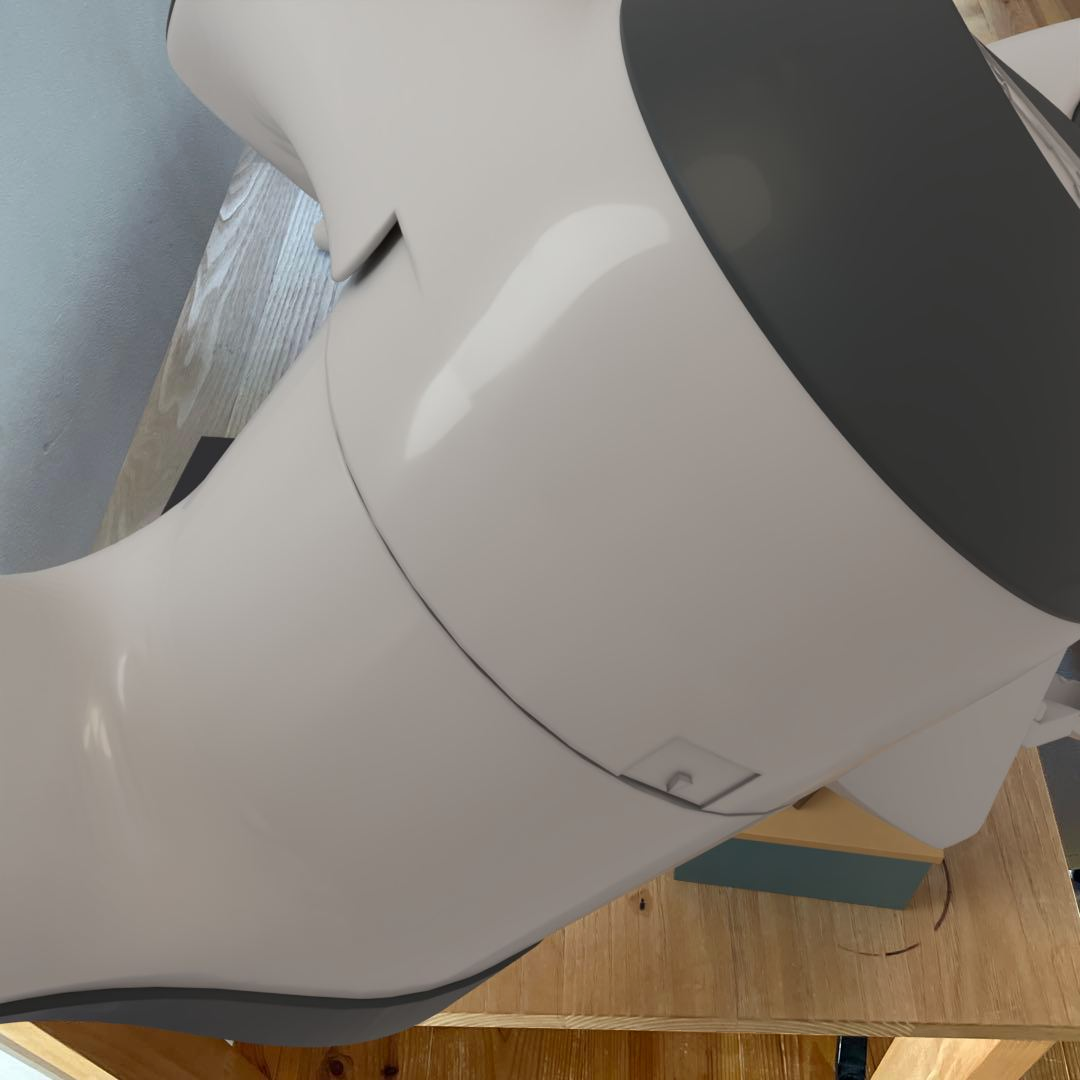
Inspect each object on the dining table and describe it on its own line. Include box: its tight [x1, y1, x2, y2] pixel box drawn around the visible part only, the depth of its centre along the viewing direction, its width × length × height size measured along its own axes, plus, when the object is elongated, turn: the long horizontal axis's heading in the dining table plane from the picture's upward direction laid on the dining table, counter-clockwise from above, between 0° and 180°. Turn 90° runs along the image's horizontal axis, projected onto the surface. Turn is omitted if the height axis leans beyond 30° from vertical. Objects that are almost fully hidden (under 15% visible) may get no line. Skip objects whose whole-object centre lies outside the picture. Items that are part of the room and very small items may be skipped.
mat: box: [159, 435, 236, 517], centre depth 75 cm, size 9×9×1 cm
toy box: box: [673, 786, 945, 911], centre depth 53 cm, size 11×12×8 cm
